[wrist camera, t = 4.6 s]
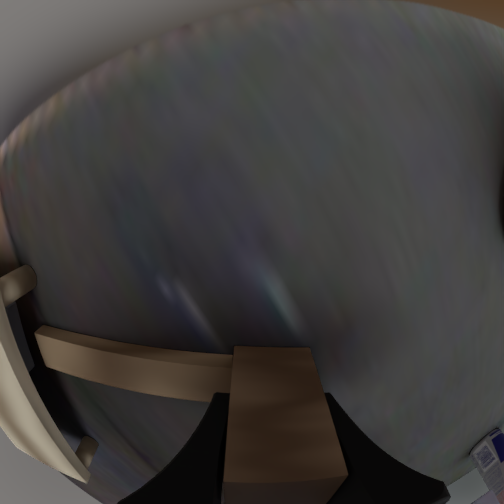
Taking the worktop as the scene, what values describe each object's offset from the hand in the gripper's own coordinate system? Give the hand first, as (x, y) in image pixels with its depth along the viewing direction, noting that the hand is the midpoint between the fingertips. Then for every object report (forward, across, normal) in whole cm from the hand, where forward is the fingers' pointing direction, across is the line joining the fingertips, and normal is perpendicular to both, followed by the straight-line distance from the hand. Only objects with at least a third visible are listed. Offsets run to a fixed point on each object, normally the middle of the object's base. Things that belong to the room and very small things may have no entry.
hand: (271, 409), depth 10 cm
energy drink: (+3, -31, +18) cm, 36 cm away
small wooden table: (+2, +16, +3) cm, 17 cm away
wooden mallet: (+2, +6, 0) cm, 6 cm away
